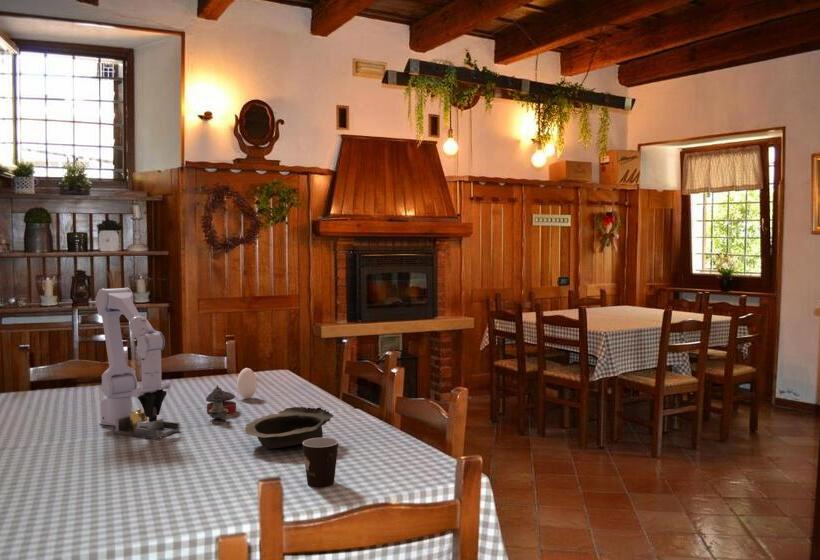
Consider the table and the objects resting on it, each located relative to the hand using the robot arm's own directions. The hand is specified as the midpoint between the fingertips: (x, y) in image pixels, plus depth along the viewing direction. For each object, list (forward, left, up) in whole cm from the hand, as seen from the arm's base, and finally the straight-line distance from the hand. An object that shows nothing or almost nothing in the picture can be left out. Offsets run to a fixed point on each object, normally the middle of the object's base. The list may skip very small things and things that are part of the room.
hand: (152, 415), depth 216 cm
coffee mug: (+72, -23, -6) cm, 76 cm away
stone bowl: (+46, +4, -6) cm, 47 cm away
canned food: (+2, +31, -6) cm, 32 cm away
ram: (-1, 0, -4) cm, 4 cm away
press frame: (-3, 0, -5) cm, 6 cm away
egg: (-2, +53, -6) cm, 53 cm away
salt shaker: (+9, +20, -6) cm, 23 cm away
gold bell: (-5, 0, -4) cm, 7 cm away
